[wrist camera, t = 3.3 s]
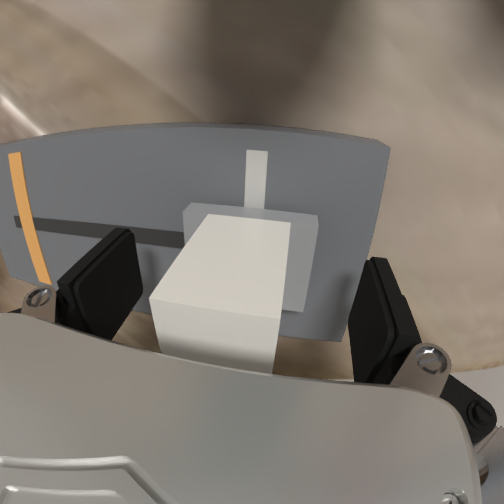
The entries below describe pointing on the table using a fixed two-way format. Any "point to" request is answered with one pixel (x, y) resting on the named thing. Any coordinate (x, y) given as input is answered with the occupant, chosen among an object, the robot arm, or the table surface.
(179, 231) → the fader console
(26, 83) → the table surface
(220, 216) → the fader knob
